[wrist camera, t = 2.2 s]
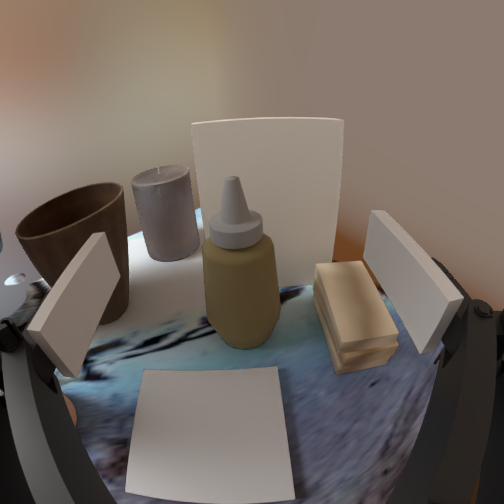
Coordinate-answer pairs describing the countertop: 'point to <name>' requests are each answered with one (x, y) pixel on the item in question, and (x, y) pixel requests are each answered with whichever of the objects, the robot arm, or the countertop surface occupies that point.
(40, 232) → the plant pot
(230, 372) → the grey mat
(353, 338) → the offcut stack
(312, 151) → the panel
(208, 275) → the squeeze bottle
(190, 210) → the pillar candle
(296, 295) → the countertop surface
